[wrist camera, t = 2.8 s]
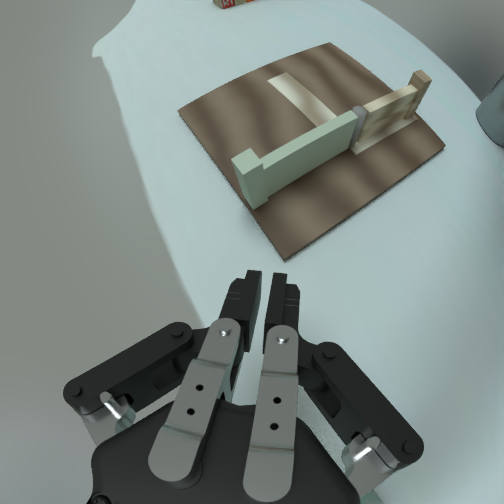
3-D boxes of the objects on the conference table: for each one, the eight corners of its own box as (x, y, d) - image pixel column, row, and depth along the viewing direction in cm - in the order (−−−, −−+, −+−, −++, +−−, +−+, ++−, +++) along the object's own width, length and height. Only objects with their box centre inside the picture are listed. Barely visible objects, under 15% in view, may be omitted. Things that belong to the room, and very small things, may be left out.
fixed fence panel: (403, 107, 32) (421, 69, 24) (412, 116, 32) (432, 79, 24) (350, 135, 32) (363, 92, 24) (360, 145, 32) (376, 103, 23)
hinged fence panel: (348, 135, 32) (361, 91, 24) (358, 145, 31) (374, 103, 23) (244, 196, 31) (230, 159, 23) (253, 210, 31) (242, 174, 23)
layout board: (329, 46, 38) (330, 41, 37) (443, 148, 31) (446, 145, 30) (179, 114, 37) (177, 110, 36) (284, 260, 31) (284, 259, 30)
